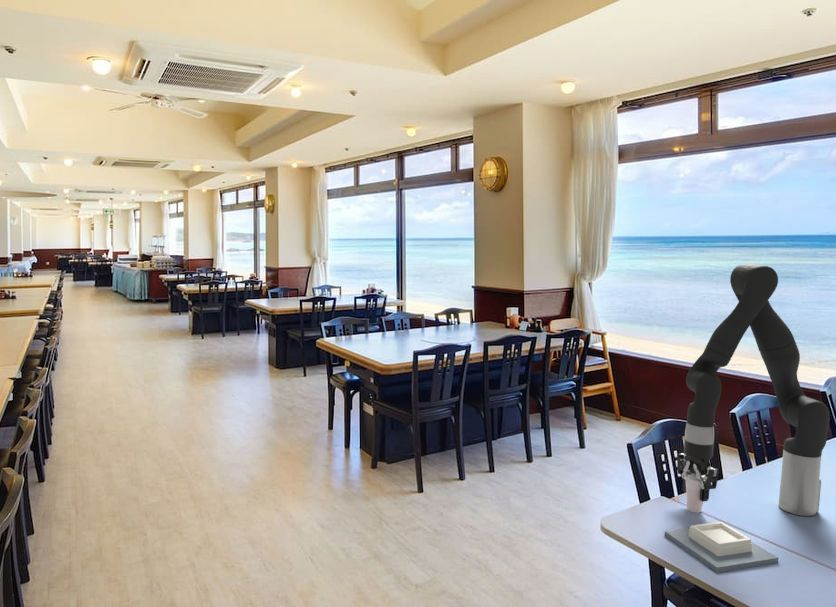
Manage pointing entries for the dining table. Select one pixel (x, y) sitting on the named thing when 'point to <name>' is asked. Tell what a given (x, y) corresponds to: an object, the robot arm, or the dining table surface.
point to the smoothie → (693, 492)
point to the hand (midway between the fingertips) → (694, 495)
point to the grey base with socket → (720, 546)
